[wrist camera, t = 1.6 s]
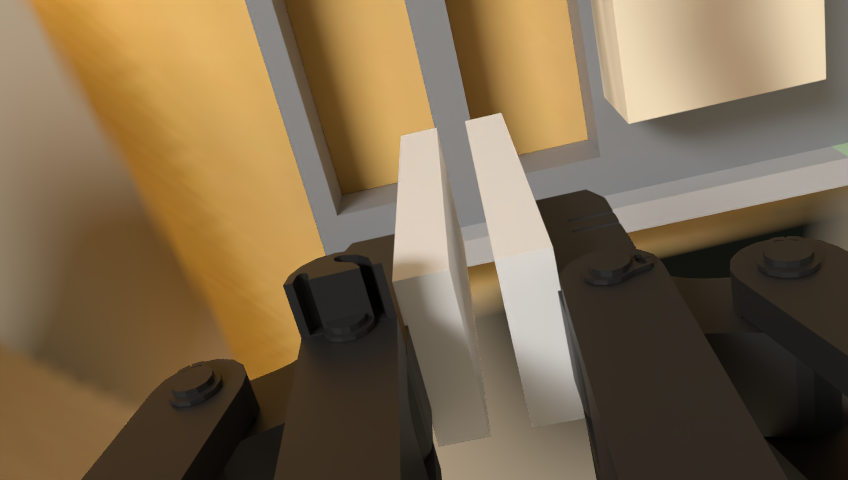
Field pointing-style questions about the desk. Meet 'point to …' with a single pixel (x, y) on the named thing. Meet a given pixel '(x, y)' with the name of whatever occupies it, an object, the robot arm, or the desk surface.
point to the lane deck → (590, 159)
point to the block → (704, 51)
